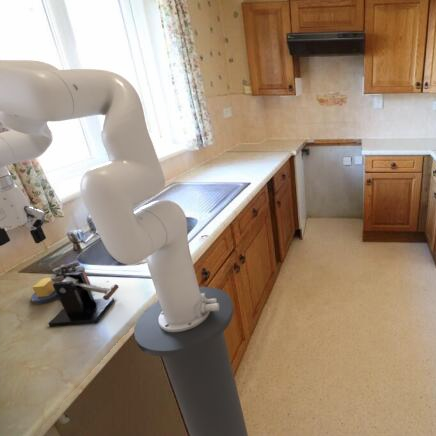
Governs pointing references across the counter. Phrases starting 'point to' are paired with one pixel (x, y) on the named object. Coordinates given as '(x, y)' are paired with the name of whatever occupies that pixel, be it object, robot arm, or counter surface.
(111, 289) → the lever
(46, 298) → the dish
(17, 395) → the counter surface
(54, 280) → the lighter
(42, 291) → the butter
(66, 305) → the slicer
